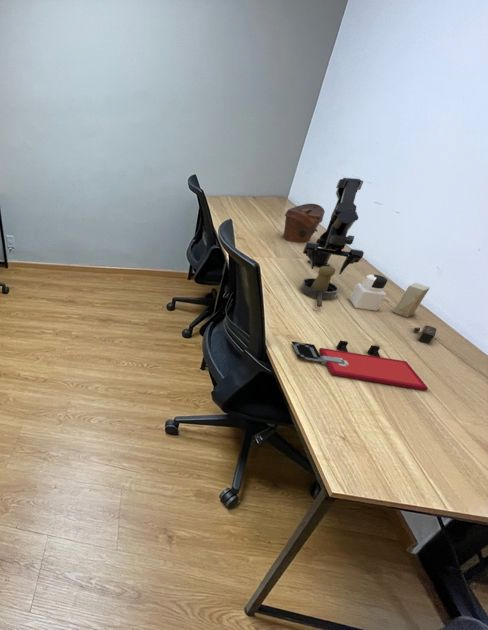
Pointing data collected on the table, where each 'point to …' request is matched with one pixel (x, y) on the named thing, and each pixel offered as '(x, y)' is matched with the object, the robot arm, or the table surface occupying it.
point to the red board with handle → (362, 365)
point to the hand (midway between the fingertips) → (326, 271)
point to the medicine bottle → (369, 293)
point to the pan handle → (319, 299)
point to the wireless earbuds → (426, 333)
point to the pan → (311, 292)
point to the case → (302, 222)
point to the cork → (323, 278)
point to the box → (411, 299)
